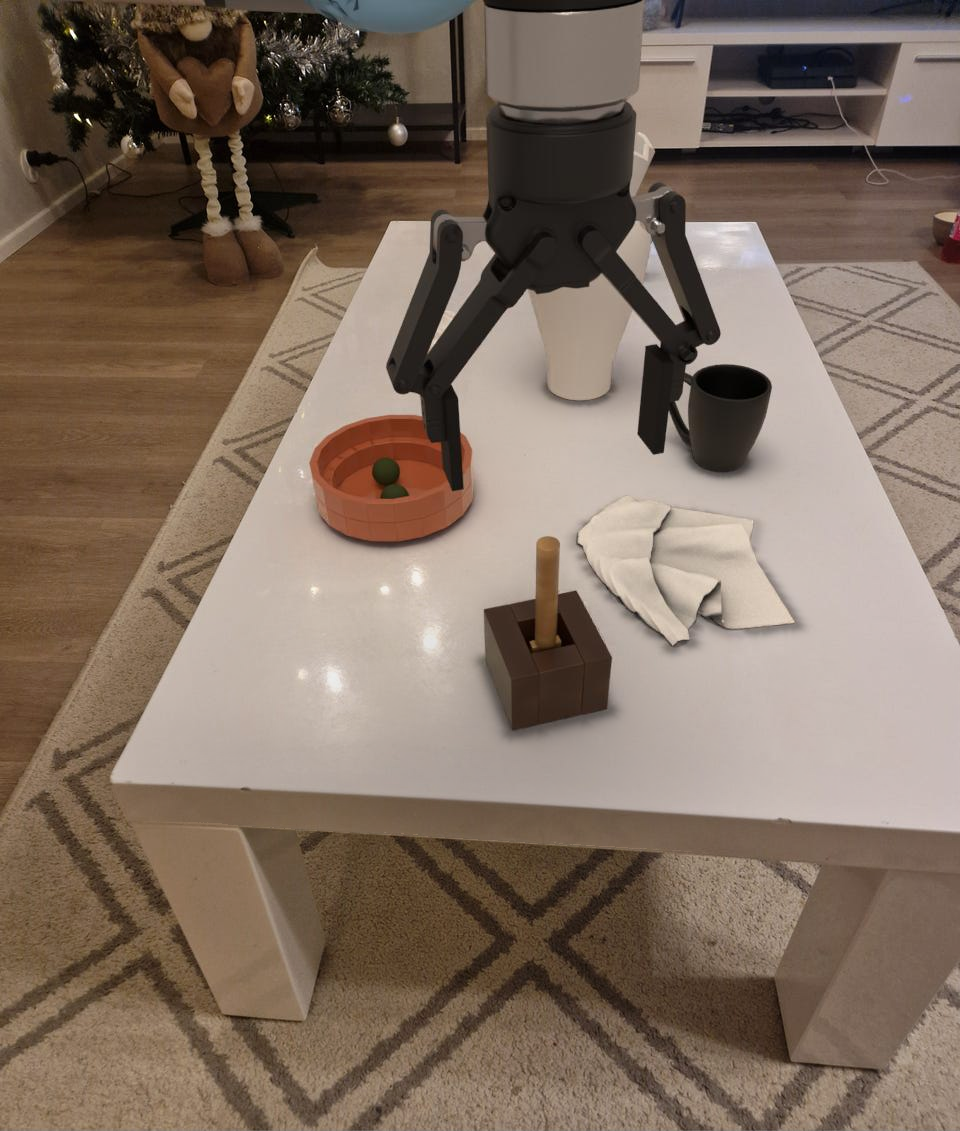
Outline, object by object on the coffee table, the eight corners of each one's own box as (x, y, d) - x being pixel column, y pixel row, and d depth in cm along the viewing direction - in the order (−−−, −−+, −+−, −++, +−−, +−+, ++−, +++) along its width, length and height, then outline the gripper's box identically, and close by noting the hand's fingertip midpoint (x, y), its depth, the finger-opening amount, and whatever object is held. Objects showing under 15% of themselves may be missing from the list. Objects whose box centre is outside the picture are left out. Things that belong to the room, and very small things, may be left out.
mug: (675, 421, 102) (685, 347, 96) (769, 454, 96) (786, 378, 90) (638, 450, 98) (645, 374, 92) (734, 488, 92) (749, 409, 86)
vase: (657, 377, 111) (685, 132, 92) (600, 427, 102) (617, 166, 83) (560, 349, 118) (568, 116, 99) (498, 393, 109) (494, 146, 90)
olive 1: (376, 493, 92) (372, 469, 90) (371, 477, 94) (368, 454, 92) (403, 488, 92) (401, 464, 90) (398, 473, 94) (395, 450, 92)
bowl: (328, 561, 84) (320, 516, 81) (310, 470, 97) (302, 428, 93) (491, 530, 87) (490, 486, 84) (453, 446, 100) (450, 404, 96)
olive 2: (384, 521, 88) (381, 497, 86) (379, 504, 90) (376, 481, 88) (413, 516, 88) (410, 492, 86) (407, 499, 90) (405, 476, 88)
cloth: (607, 487, 92) (608, 468, 91) (818, 537, 85) (823, 517, 83) (534, 605, 79) (534, 586, 77) (778, 678, 71) (784, 658, 69)
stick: (533, 694, 70) (535, 553, 61) (527, 679, 72) (528, 539, 62) (561, 688, 71) (567, 547, 61) (554, 673, 72) (560, 533, 62)
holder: (511, 731, 68) (511, 679, 64) (485, 660, 74) (483, 608, 70) (607, 709, 69) (612, 657, 65) (573, 641, 75) (576, 590, 71)
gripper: (753, 65, 48) (703, 403, 61) (302, 111, 43) (357, 462, 57) (828, 93, 42) (754, 458, 56) (319, 149, 38) (375, 529, 52)
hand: (553, 461), depth 56 cm, fingers open, 13 cm apart
